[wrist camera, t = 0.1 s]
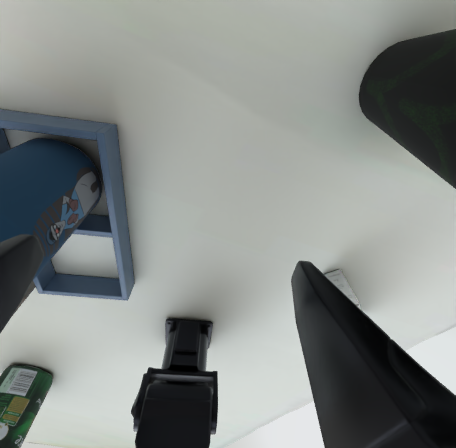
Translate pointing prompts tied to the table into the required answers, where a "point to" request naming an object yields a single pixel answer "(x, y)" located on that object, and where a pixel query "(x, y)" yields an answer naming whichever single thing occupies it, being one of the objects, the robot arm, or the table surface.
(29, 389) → the coffee jar
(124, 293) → the blue rack
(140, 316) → the table surface
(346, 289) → the ink cartridge box
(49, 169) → the soda can
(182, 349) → the robot arm
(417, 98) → the cup
